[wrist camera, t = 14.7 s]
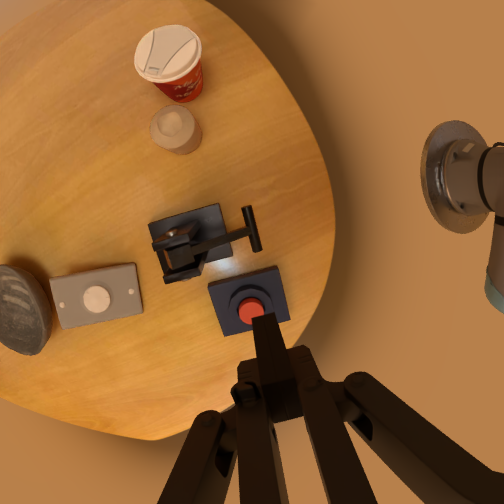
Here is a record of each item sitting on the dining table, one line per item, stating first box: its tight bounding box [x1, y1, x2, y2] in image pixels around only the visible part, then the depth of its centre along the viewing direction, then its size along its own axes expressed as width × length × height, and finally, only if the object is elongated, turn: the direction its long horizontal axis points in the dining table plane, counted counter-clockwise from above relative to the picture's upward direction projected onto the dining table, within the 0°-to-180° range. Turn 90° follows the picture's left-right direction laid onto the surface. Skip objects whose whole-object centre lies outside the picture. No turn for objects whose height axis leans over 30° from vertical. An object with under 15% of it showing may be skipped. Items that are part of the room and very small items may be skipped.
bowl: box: [0, 264, 52, 356], centre depth 39 cm, size 18×18×8 cm
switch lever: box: [163, 205, 263, 270], centre depth 35 cm, size 12×6×2 cm, turn 104°
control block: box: [208, 265, 290, 337], centre depth 44 cm, size 11×9×4 cm
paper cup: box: [134, 25, 203, 102], centre depth 30 cm, size 8×8×14 cm
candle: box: [150, 105, 202, 154], centre depth 34 cm, size 6×6×10 cm
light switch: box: [49, 263, 143, 330], centre depth 41 cm, size 8×6×14 cm
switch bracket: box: [148, 203, 233, 284], centre depth 37 cm, size 11×8×12 cm
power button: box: [239, 298, 264, 324], centre depth 42 cm, size 4×4×2 cm
